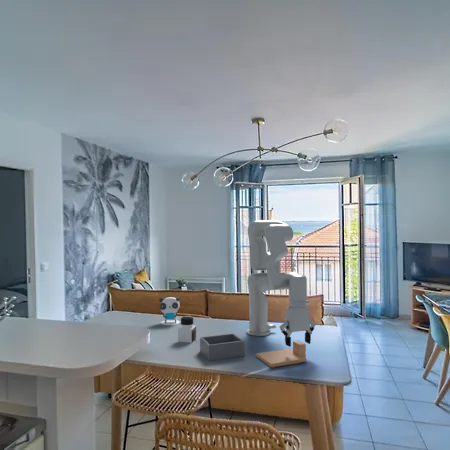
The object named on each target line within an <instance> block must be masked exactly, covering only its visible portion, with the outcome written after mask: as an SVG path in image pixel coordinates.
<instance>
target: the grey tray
mask: <svg viewBox="0 0 450 450" xmlns="http://www.w3.org/2000/svg"><path fill="white" fill-rule="evenodd" d="M199 352H200V354H202V355H203V356H204V357H205V358H206V359H207V361H208V362H211V361H217V360H222V359H223V360H224V359H231V358H237V357H238V358H239V357H244V356H245V340H244V339H242V338H241V337H239V336H238V335H237V334H236V333H234V332H233V333H225V334H217V335H207V336H200V337H199Z"/></svg>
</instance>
